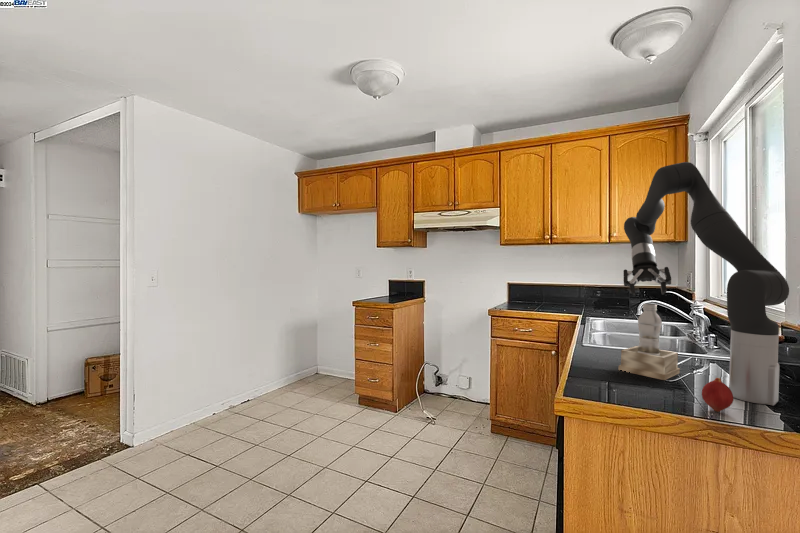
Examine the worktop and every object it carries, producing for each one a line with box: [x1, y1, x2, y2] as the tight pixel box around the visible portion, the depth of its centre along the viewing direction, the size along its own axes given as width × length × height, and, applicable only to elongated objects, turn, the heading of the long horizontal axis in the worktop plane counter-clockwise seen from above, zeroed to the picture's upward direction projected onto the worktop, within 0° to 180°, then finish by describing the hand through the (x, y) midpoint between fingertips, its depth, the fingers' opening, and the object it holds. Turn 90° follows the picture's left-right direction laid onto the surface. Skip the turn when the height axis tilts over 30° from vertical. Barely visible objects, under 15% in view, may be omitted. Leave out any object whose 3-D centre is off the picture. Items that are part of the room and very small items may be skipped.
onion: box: [701, 377, 734, 412], centre depth 93 cm, size 6×6×8 cm
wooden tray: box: [618, 345, 681, 381], centre depth 126 cm, size 13×13×6 cm
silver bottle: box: [637, 303, 663, 356], centre depth 127 cm, size 6×7×20 cm
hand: (648, 293), depth 136 cm, fingers open, 8 cm apart
